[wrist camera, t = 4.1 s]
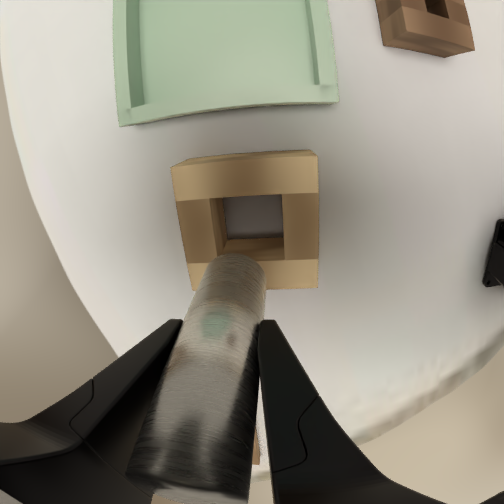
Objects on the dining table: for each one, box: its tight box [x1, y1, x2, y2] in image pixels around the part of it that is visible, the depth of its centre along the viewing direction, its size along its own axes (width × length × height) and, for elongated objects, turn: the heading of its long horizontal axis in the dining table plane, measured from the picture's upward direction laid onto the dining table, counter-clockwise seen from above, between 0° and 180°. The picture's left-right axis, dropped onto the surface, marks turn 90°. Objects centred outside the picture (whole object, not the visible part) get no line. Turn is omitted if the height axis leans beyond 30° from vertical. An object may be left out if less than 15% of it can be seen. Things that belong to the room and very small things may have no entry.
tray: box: [113, 0, 339, 127], centre depth 13 cm, size 13×13×2 cm
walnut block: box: [375, 0, 475, 58], centre depth 10 cm, size 5×5×4 cm
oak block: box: [170, 150, 319, 291], centre depth 18 cm, size 8×8×4 cm
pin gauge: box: [125, 253, 266, 504], centre depth 7 cm, size 2×2×8 cm
